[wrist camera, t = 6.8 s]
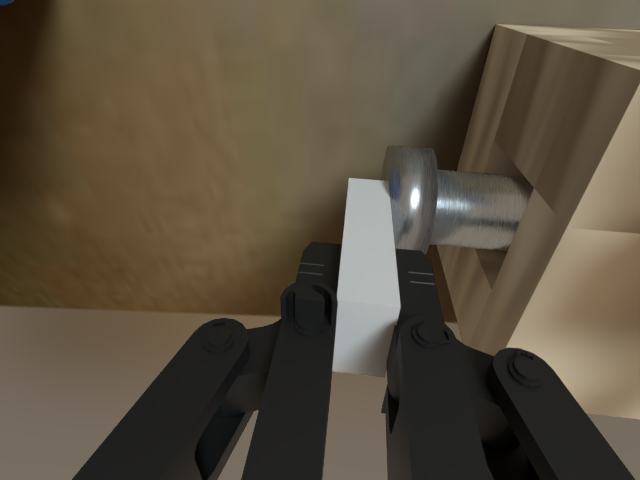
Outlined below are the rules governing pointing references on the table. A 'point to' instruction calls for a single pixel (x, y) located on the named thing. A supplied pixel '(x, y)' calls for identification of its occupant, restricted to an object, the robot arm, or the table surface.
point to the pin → (451, 203)
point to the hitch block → (560, 210)
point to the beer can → (5, 2)
